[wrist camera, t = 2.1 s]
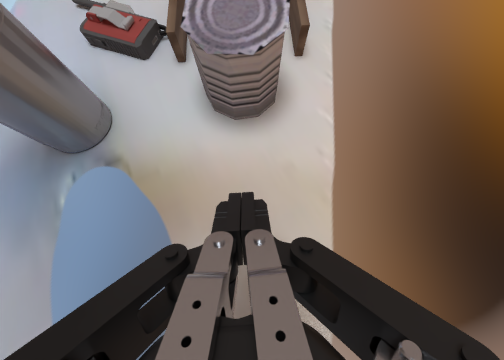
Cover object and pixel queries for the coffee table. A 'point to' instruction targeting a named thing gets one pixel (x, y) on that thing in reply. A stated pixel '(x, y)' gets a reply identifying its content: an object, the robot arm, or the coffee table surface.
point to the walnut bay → (179, 36)
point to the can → (237, 51)
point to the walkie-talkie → (120, 29)
